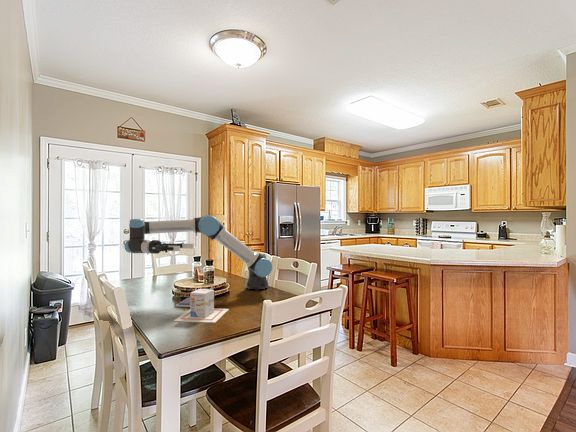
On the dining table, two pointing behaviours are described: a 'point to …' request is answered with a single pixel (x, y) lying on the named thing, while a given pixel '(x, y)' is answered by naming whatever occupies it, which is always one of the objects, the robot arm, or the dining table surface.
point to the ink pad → (184, 303)
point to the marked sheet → (209, 319)
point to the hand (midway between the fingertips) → (186, 247)
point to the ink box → (201, 303)
